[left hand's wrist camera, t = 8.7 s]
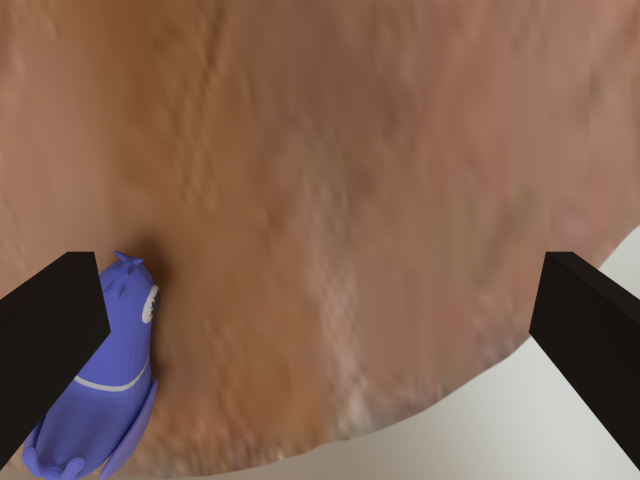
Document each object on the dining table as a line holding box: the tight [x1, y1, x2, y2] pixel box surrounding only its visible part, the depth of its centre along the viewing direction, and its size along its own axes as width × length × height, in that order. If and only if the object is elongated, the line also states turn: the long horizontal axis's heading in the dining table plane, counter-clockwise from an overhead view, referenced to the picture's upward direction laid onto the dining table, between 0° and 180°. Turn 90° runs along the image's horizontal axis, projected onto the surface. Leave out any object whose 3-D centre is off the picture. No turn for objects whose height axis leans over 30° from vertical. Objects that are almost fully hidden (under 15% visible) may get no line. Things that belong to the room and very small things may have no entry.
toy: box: [22, 251, 160, 480], centre depth 38 cm, size 10×17×25 cm
